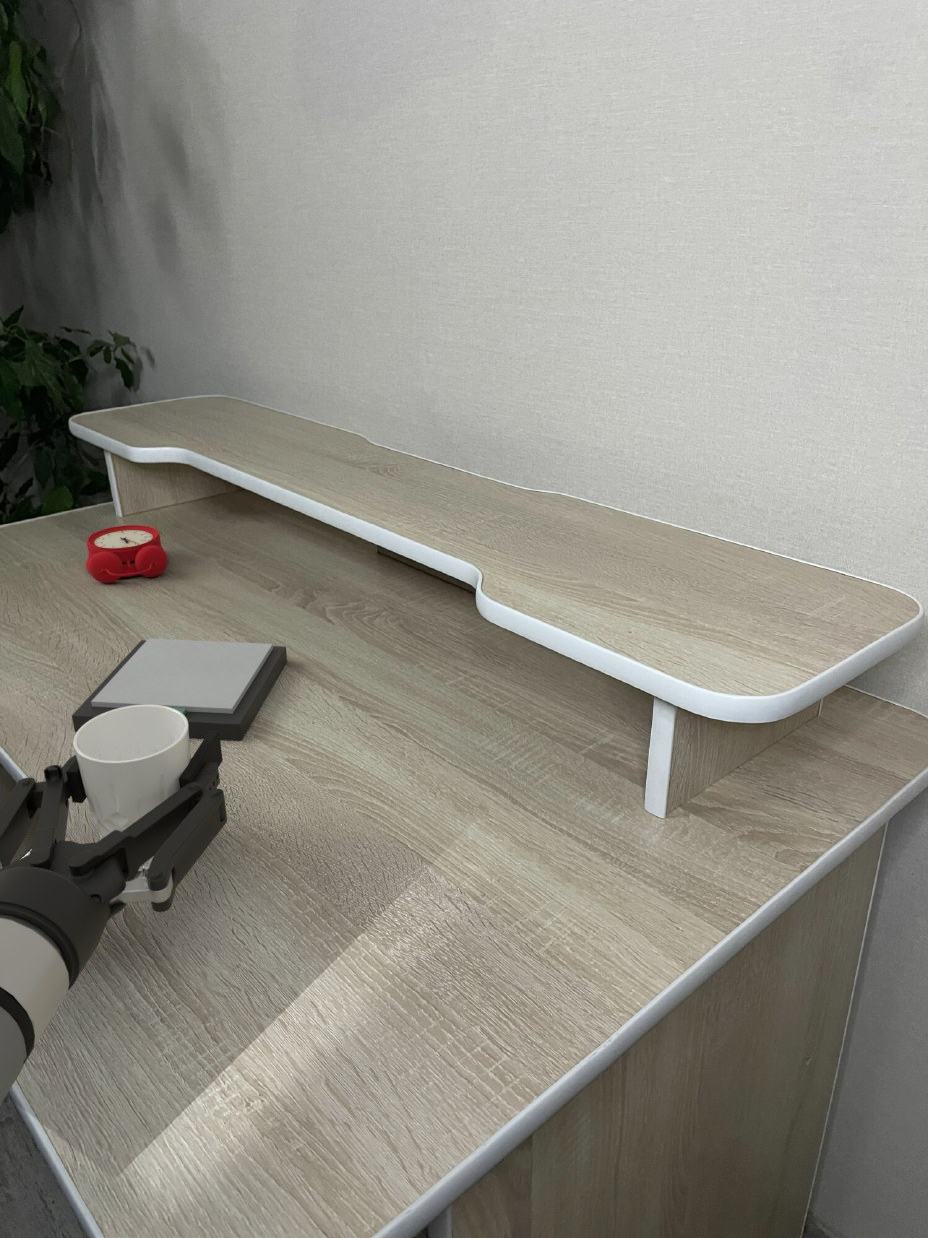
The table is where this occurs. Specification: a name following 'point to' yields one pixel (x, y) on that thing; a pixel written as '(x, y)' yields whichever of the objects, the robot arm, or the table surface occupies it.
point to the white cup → (131, 762)
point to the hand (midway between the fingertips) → (164, 742)
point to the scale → (192, 683)
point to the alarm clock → (125, 553)
